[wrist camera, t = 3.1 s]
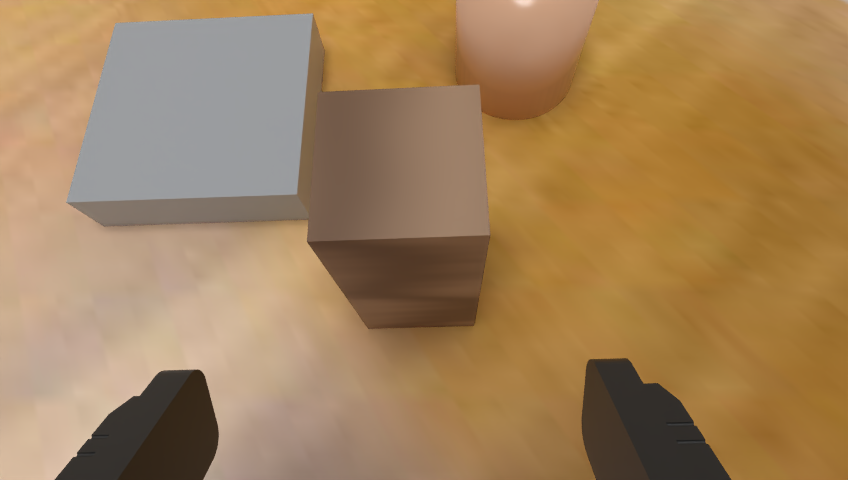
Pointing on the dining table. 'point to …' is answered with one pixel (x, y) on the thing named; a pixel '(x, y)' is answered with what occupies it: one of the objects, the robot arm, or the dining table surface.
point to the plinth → (203, 122)
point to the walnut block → (402, 202)
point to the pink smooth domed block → (520, 52)
